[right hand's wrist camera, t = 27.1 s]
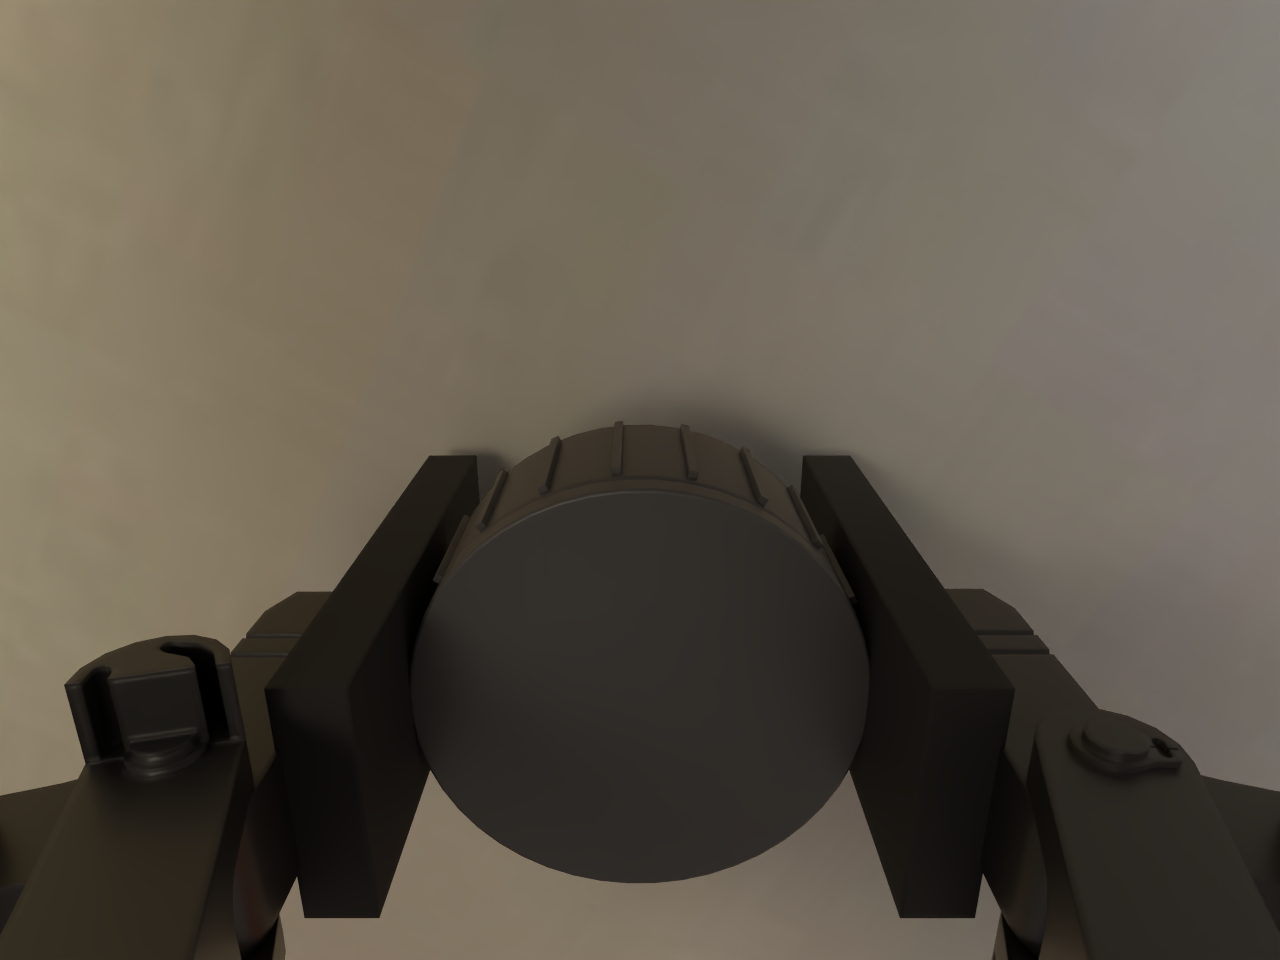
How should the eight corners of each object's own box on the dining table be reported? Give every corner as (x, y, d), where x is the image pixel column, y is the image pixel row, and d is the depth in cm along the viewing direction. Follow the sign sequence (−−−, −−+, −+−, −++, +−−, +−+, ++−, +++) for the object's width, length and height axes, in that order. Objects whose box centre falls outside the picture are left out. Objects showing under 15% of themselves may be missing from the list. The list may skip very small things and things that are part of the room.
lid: (449, 753, 13) (410, 878, 11) (443, 406, 11) (393, 470, 9) (805, 770, 13) (841, 897, 11) (858, 430, 11) (914, 498, 9)
